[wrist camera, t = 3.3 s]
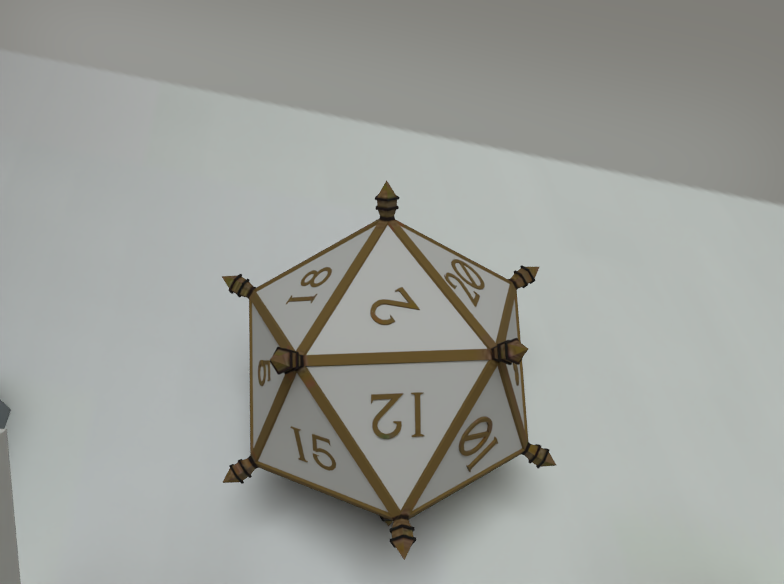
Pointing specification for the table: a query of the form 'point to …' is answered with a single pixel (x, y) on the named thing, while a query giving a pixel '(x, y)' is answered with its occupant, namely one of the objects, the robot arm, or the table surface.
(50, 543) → the table surface
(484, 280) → the game die
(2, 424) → the slate block
